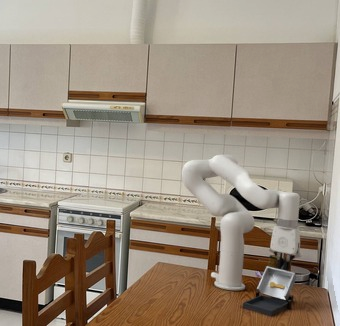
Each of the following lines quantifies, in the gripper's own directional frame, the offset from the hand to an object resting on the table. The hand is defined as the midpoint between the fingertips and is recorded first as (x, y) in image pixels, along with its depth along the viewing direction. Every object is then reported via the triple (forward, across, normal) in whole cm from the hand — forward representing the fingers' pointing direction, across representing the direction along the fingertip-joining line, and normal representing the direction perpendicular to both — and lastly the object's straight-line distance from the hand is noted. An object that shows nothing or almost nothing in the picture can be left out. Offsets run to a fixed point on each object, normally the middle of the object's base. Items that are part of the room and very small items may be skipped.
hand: (283, 269), depth 194 cm
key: (+6, +1, -5) cm, 8 cm away
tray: (+12, 0, -14) cm, 18 cm away
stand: (+12, 0, -3) cm, 13 cm away
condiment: (+12, -12, +22) cm, 27 cm away
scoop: (+4, 0, -2) cm, 4 cm away
